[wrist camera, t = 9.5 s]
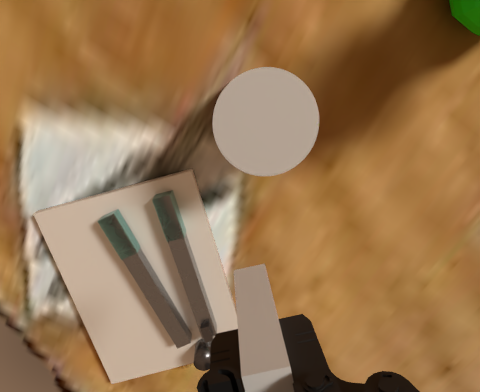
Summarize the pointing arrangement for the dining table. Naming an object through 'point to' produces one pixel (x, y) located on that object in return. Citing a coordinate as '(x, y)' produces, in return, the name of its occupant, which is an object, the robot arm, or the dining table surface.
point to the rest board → (122, 282)
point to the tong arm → (145, 276)
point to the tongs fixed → (187, 274)
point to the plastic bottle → (467, 13)
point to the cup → (265, 121)
